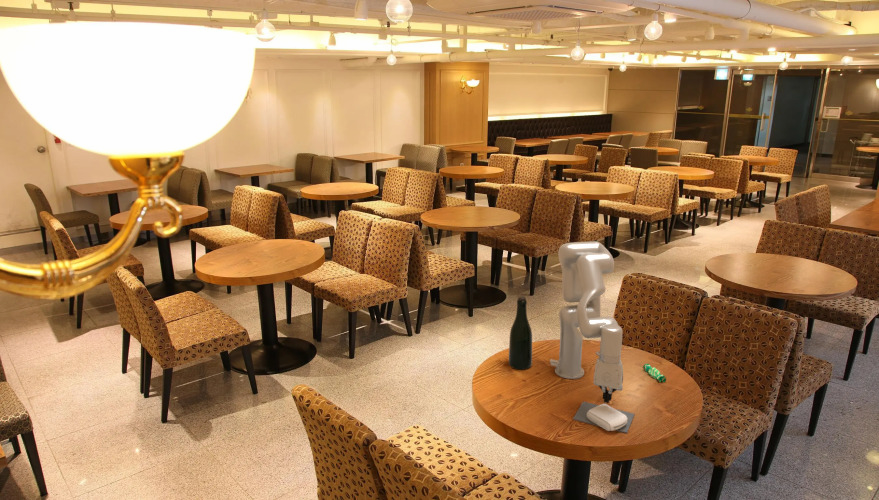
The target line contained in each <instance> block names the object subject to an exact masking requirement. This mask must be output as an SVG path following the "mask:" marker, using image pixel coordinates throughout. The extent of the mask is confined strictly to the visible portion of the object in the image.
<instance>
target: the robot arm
mask: <svg viewBox="0 0 879 500" xmlns="http://www.w3.org/2000/svg"><path fill="white" fill-rule="evenodd" d="M558 260H559V264H560V267H561V281H562V282H561V283H562V284H561V286H562V287H561V290H562V291H561V292H562V294H561V295H562V298H563V301H565V302H567V303H578V304H570V305H569V304H568V305H564V306H563V307H561V308H560V309H559V311H558V320H559V329H560V331H559V336H560V337H559V352H558V353H559V355H558V356H559V357H558V359H557V360H556V359H551V358H550V360H549V364H550V366H551V367H555V368H554V372H555V374H556V375H557V376H558V377H561V378H563V379H568V380H577V379H581V378H582V377H583V376H584V375H585V369H584V368H583V367H582V358H583V357H582V354H583V353H582V352H583V338H585V339H598V338H600V345H599V346H600V347H599V351H595V355H596V356H598V358H597V359H596V361H595V366H594V367H595V368H594V373H593V385H594V386H597V387H599V389H600V390H601V392H602V400H603V403H605V404H609V403H610V402H611V401H612V395H613V393H615V392H616V391H618V392H619V391H620V392H621V391H623V388H624V387H623V382H624V366H623V361H622V360H621V356H622V348H623V347H622V345H623V333H624V332H623V328H622V327H621V326H620V325H619V323H618V321H616V319H615V318H614V317H613V316H601V295H604V293H605V292H606V286H605V281H604V278H603V274H604V275H605V274H611V273H613V272H614V269H615V260H614V258H613V255H612V254H611V252H610V251H609V250H608V249H607V248H606V247H605V246H604V245H603V244H602V243H601V242H599V241H575V242H573V241H572V242H567V243H564V244H562V245H560V247H559V248H558ZM578 328H579V329H578Z"/></svg>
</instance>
